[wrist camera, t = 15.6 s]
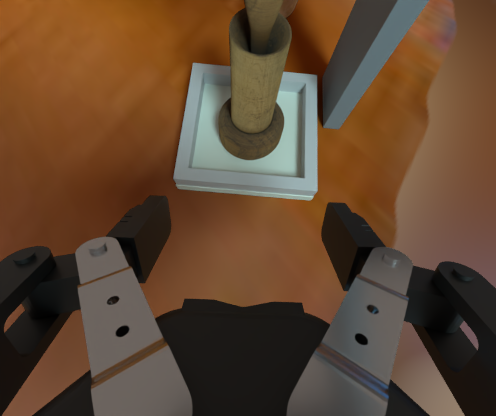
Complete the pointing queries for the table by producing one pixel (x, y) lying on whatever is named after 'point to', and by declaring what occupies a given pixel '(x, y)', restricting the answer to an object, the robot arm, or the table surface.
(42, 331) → the robot arm
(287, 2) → the potted plant
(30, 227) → the table surface
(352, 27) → the overhang shelf
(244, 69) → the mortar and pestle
